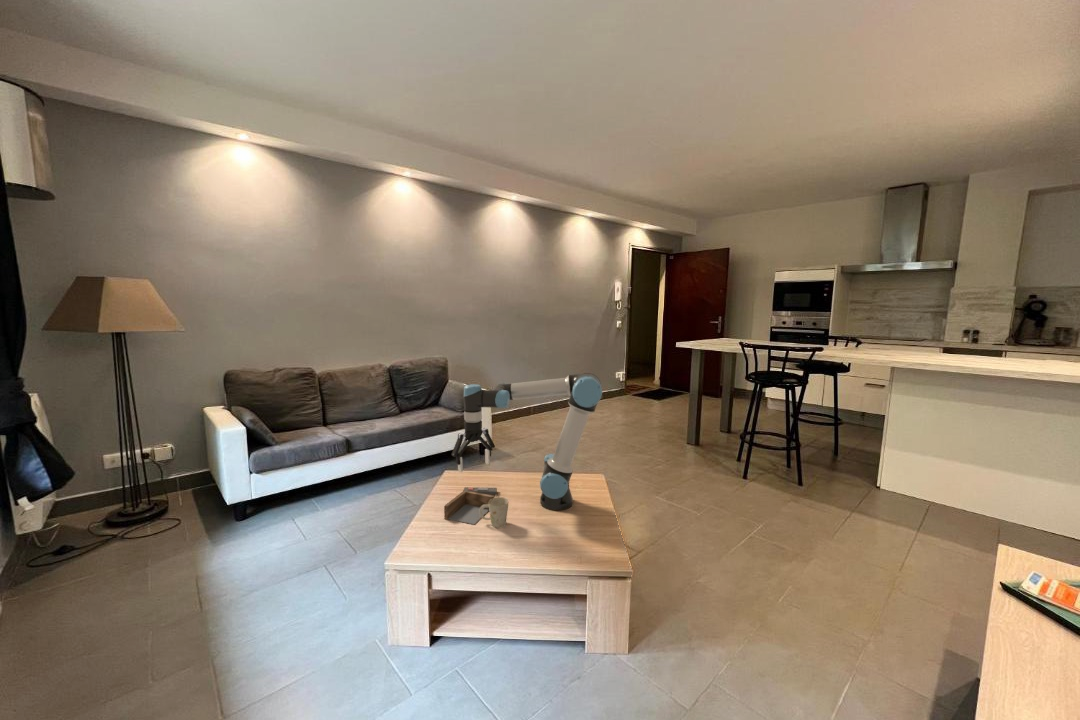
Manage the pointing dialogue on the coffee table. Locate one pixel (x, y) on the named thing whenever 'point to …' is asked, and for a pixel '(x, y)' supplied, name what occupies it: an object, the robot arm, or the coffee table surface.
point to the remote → (482, 490)
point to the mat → (468, 514)
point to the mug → (496, 511)
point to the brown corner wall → (465, 502)
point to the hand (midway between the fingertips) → (474, 467)
